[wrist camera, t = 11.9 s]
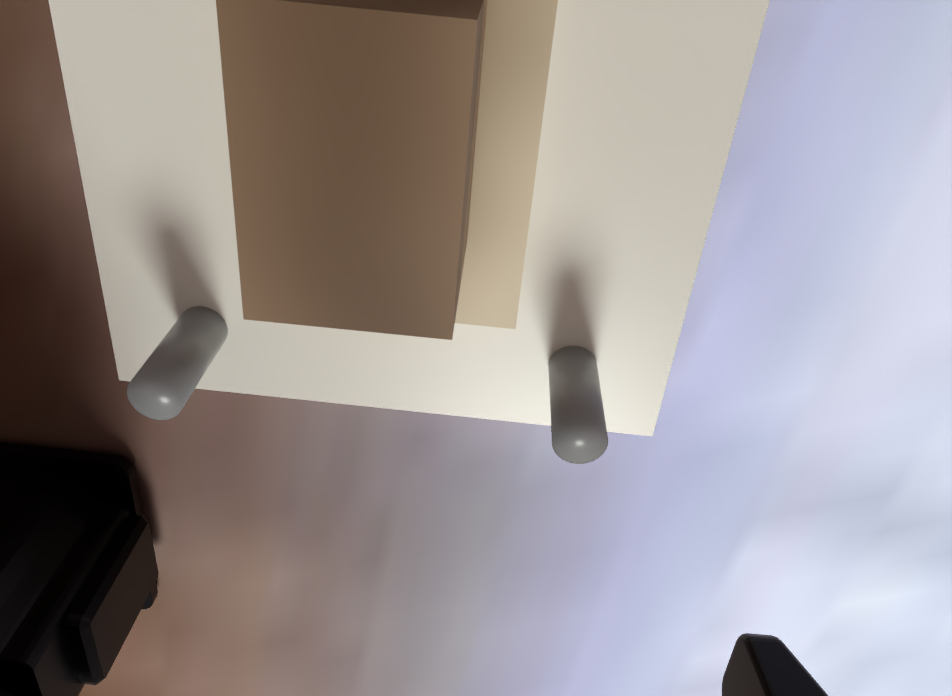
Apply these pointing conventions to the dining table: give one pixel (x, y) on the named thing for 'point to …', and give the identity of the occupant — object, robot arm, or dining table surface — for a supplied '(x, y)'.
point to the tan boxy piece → (384, 158)
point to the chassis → (472, 347)
